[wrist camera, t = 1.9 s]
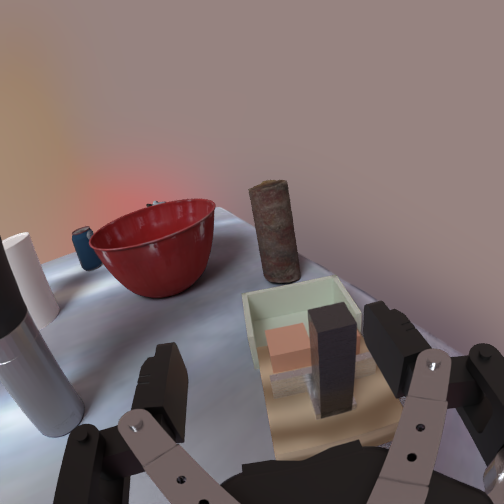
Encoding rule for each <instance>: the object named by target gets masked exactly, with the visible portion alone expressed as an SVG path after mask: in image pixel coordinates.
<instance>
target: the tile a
mask: <svg viewBox="0 0 504 504" xmlns="http://www.w3.org/2000/svg"><path fill="white" fill-rule="evenodd" d="M265 335H266V341H267V346H268V351H269V356H270V360H271V365H272V370H273V374H275V373H280V372H284V371H289V370H294V369H299V368H303V367H308V366H312V365H311V350H310V339H309V337H308V334H307V331H306V329H305V326H304V324H303V323H299V324H294V325H290V326H285V327H280V328H275V329H270V330H265Z"/></svg>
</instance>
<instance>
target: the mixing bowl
mask: <svg viewBox="0 0 504 504" xmlns="http://www.w3.org/2000/svg"><path fill="white" fill-rule="evenodd" d="M214 210H215V203H214V202H213V201H211V200H207V199H184V200H177V201H171V202H166V203H161V204H157V205H153V206H150V207H147V208H144V209H140V210H138V211H135V212H132V213H130V214H127V215H124V216H123V217H120V218H118V219H116V220H114V221H112V222H110V223H108V224H107V225H105V226H103V227H102V228H100V229H99V230H98V231H97V232H96V233H94V234H93V235H92V237H91V238H90V240H89V245H90V247H91V248H93V249H94V251H95V252H96V254H97V256H98V257H99V258H100V260H101V261H102V263H103V264H104V265H105V267H106V268H107V269H108V270H109V272H110V273H111V274H112V275H113V276H114V277H115V278H116V279H117V280H118V281H119V282H120V283H121V284H122V285H124V286H125V287H126V288H127V289H129V290H130V291H132V292H133V293H135V294H138V295H141V296H145V297H152V298H163V297H168V296H172V295H175V294H178V293H180V292H182V291H184V290H186V289H187V288H189V287H190V286H191V285H192V284H194V282H195V281H196V280H197V279H198V278H199V277H200V276H201V275H202V273H203V272H204V270H205V268H206V266H207V263H208V259H209V255H210V251H211V246H212V240H213V231H214Z"/></svg>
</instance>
